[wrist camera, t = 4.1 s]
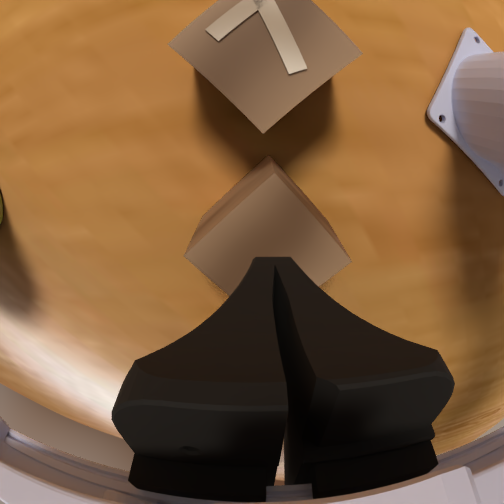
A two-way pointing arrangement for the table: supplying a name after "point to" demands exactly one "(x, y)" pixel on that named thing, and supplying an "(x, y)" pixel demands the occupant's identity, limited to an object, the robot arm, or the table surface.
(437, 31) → the table surface
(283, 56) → the block seven
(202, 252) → the plain block
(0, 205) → the plant pot
